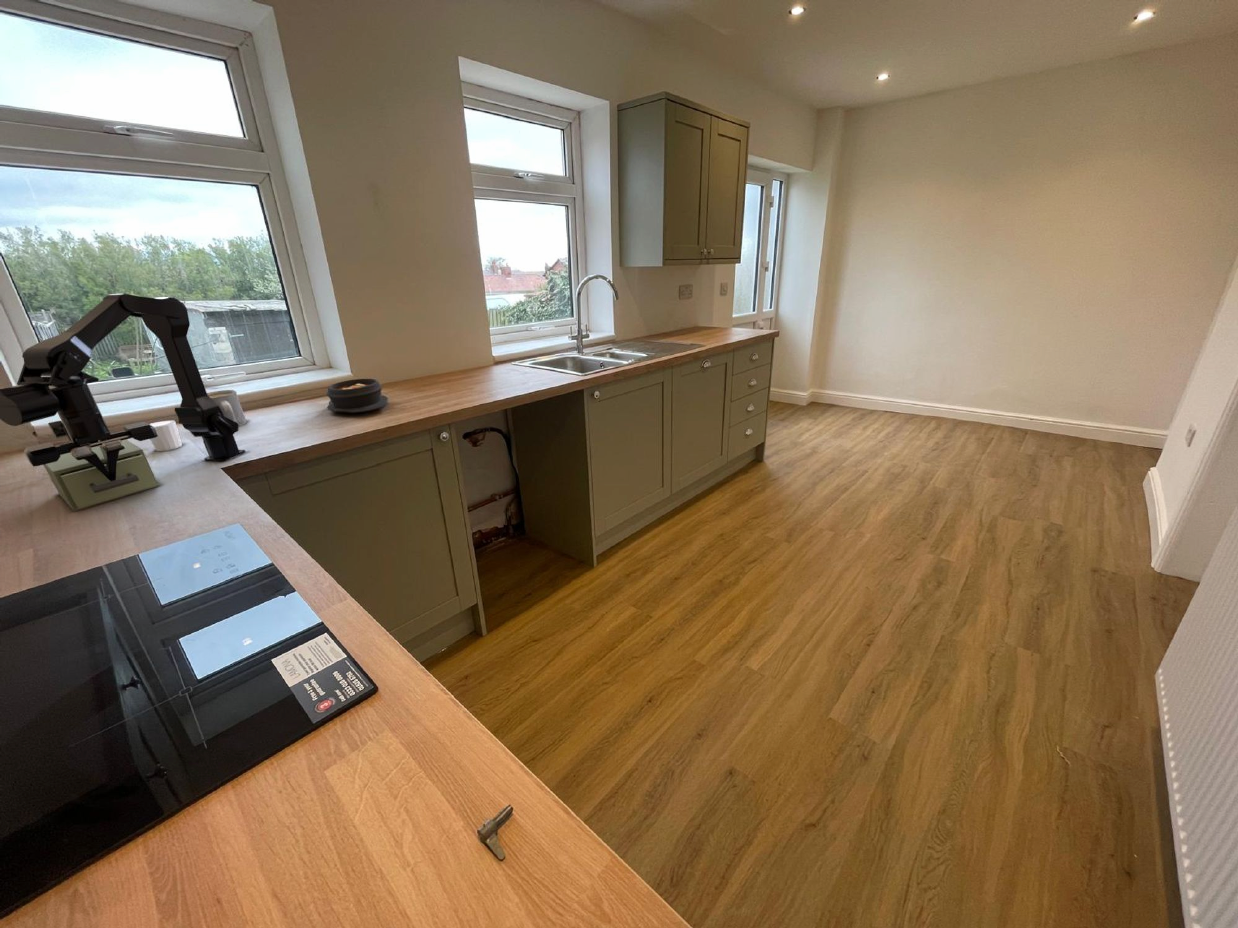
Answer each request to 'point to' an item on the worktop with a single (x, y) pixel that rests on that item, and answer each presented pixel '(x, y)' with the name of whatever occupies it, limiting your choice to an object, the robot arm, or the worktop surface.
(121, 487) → the drawer
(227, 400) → the coffee mug
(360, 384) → the casserole
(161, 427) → the white cup
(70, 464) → the cabinet
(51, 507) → the worktop surface
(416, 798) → the worktop surface
